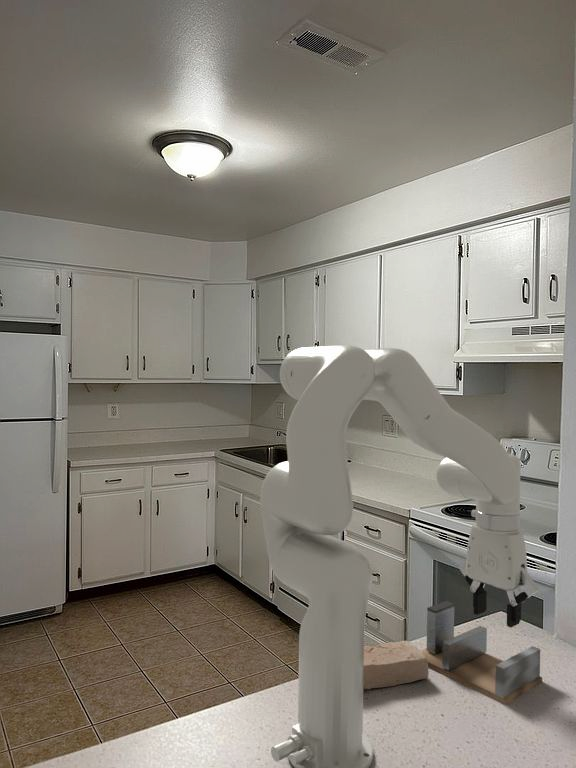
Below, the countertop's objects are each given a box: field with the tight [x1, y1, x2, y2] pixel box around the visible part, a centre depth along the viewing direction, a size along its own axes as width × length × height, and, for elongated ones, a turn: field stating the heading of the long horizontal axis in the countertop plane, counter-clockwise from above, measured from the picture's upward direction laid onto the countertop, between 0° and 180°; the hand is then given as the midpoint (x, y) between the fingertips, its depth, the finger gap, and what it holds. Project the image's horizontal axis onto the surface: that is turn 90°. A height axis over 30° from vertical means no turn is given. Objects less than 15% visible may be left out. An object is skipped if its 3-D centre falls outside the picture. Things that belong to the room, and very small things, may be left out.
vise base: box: [421, 645, 543, 706], centre depth 112 cm, size 12×20×6 cm, turn 39°
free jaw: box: [426, 600, 488, 670], centre depth 116 cm, size 12×8×8 cm, turn 129°
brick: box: [363, 640, 430, 691], centre depth 109 cm, size 17×8×5 cm, turn 107°
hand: (496, 617), depth 109 cm, fingers open, 6 cm apart
